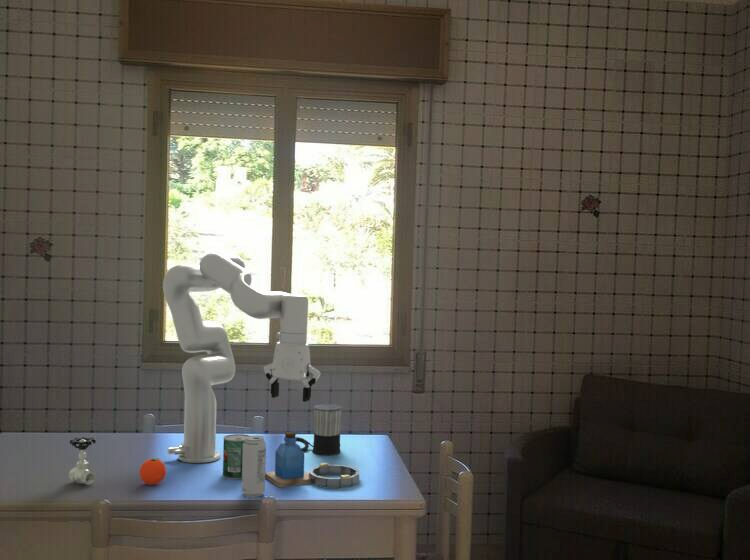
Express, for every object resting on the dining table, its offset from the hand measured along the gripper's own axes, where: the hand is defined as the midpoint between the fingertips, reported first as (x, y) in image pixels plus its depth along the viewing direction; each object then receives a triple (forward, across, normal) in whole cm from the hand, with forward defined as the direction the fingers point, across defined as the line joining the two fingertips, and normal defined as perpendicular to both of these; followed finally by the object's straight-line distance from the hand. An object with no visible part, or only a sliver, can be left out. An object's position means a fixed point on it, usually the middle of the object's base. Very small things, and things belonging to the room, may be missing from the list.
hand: (290, 398), depth 210 cm
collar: (+22, +13, +4) cm, 26 cm away
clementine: (+24, -31, -19) cm, 43 cm away
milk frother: (+23, -6, +31) cm, 39 cm away
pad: (+23, +1, 0) cm, 23 cm away
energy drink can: (+23, -2, -16) cm, 28 cm away
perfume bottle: (+22, +1, 0) cm, 22 cm away
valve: (+24, -48, -27) cm, 60 cm away
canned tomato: (+23, -14, -3) cm, 28 cm away
